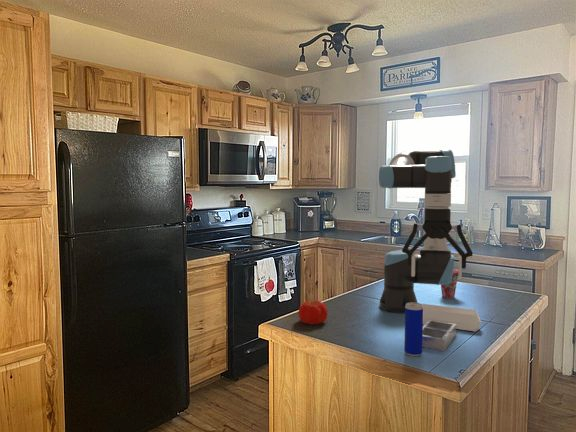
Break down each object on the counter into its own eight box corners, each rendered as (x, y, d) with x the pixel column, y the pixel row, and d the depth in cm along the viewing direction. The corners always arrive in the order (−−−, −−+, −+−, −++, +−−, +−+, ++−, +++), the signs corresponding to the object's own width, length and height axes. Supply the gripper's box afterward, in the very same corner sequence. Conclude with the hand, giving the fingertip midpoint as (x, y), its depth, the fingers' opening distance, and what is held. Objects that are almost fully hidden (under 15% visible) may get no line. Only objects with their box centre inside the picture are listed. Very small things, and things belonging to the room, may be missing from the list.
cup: (456, 300, 190) (457, 272, 189) (436, 297, 195) (436, 270, 194) (460, 295, 198) (461, 269, 197) (441, 293, 203) (441, 267, 202)
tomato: (319, 316, 170) (319, 297, 169) (332, 325, 160) (332, 304, 159) (293, 319, 166) (293, 300, 166) (305, 329, 156) (305, 308, 155)
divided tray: (414, 345, 140) (414, 334, 139) (428, 329, 154) (429, 319, 154) (444, 351, 135) (444, 339, 135) (456, 334, 149) (456, 324, 149)
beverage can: (408, 348, 137) (409, 301, 136) (425, 352, 134) (425, 303, 133) (401, 353, 133) (402, 304, 132) (418, 358, 130) (418, 307, 129)
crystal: (407, 315, 158) (480, 324, 148) (410, 301, 164) (481, 308, 153) (409, 329, 162) (480, 339, 152) (412, 315, 168) (481, 323, 157)
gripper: (393, 207, 136) (392, 276, 137) (482, 209, 126) (480, 283, 127) (397, 206, 142) (396, 272, 144) (482, 207, 133) (480, 278, 134)
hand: (436, 277), depth 136 cm, fingers open, 13 cm apart
